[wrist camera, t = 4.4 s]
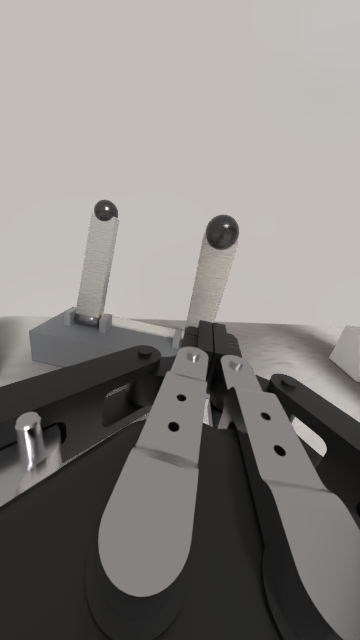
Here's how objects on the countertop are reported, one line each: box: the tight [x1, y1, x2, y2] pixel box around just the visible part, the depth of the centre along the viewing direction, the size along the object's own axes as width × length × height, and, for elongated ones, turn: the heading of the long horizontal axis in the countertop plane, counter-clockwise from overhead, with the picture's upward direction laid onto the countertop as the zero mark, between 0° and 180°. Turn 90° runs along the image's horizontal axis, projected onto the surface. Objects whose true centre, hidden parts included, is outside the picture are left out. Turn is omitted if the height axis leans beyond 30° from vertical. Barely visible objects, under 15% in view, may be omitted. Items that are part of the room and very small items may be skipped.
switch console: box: [29, 307, 210, 399], centre depth 28 cm, size 24×8×6 cm, turn 83°
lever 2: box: [185, 215, 239, 329], centre depth 22 cm, size 3×3×16 cm
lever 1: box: [74, 200, 119, 328], centre depth 27 cm, size 3×3×16 cm
